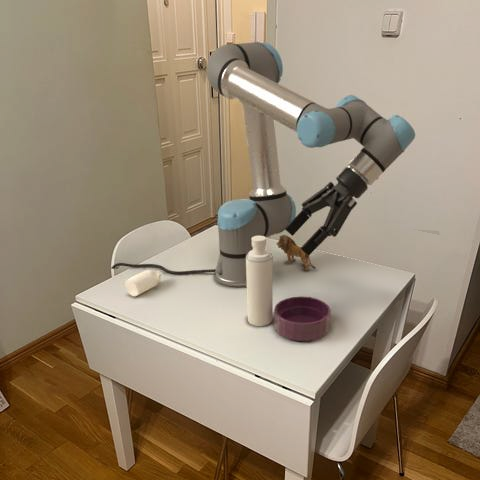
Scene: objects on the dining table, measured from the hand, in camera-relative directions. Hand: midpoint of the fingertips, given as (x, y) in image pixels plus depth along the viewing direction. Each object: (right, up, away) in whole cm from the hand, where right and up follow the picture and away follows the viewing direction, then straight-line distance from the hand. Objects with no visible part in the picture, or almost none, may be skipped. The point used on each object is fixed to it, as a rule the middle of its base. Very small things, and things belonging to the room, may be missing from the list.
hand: (296, 242), depth 122 cm
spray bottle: (-9, -20, +10) cm, 24 cm away
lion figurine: (+4, -1, +40) cm, 40 cm away
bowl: (+2, -22, +5) cm, 22 cm away
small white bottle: (-42, -10, +28) cm, 52 cm away
